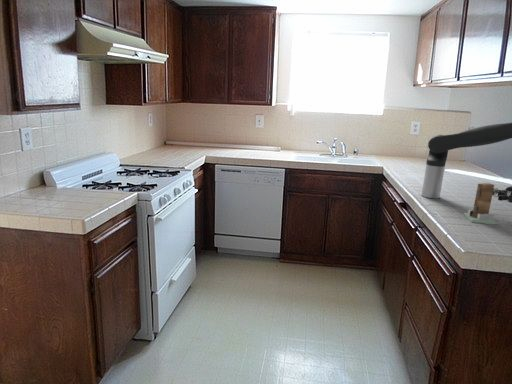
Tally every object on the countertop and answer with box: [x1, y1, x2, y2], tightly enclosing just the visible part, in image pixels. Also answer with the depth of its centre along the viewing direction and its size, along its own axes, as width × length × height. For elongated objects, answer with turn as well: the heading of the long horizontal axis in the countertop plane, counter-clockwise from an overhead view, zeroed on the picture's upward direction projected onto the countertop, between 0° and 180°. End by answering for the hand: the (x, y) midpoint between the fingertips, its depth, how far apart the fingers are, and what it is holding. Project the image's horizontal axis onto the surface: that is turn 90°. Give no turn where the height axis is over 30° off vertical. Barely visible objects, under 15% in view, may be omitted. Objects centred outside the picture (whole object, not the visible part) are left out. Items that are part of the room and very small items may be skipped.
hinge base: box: [464, 209, 498, 225], centre depth 179 cm, size 11×10×4 cm
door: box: [472, 182, 495, 218], centre depth 177 cm, size 3×7×15 cm, turn 109°
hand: (490, 195), depth 178 cm, fingers open, 8 cm apart
